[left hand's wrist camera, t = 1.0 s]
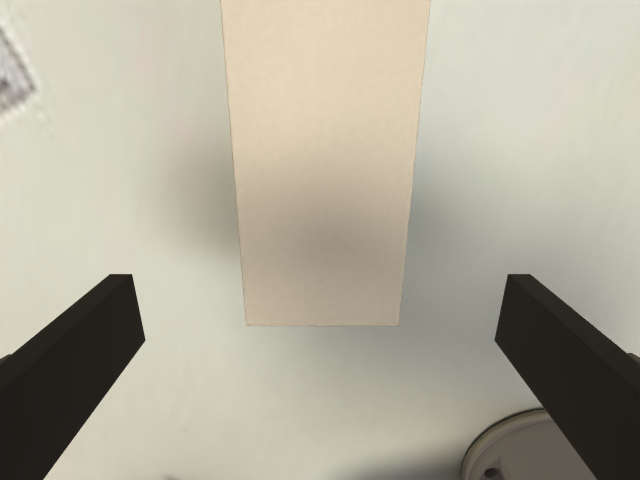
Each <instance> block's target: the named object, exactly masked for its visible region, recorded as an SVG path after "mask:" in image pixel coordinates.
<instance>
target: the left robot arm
mask: <svg viewBox="0 0 640 480" xmlns="http://www.w3.org/2000/svg"><path fill="white" fill-rule="evenodd" d="M144 342H145V336H144V331H143V326H142V321H141V316H140V311H139V306H138V301H137V296H136V291H135V287H134V282H133V277H132V274H110V275H109V276H107V277H106V278H105V279H104V280H102V281H101V282H100V283H99V284H98V285H96V286H95V287H94V288H93V289H91V290H90V291H89V292H88V293H86V294H85V295H84V296H83V297H82V298H80V299H79V300H78V301H77V302H75V303H74V304H73V305H72V306H71V307H69V308H68V309H67V310H66V311H64V312H63V313H62V314H61V315H60V316H58V317H57V318H56V319H55V320H53V321H52V322H51V323H50V324H49V325H47V326H46V327H45V328H44V329H42V330H41V331H40V332H39V333H37V334H36V335H35V336H34V337H33V338H31V339H30V340H29V341H28V342H26V343H25V344H24V345H23V346H22V347H20V348H19V349H18V350H17V351H15V352H14V353H13V354H9V355H7V356H5V357H3V358H1V359H0V480H43V479H44V478H45V476H46V475H47V474H48V472H49V471H50V470H51V468H52V467H53V466H54V464H55V463H56V461H57V460H58V459H59V457H60V456H61V455H62V453H63V452H64V451H65V449H66V448H67V446H68V445H69V444H70V442H71V441H72V440H73V438H74V437H75V436H76V434H77V433H78V432H79V430H80V429H81V427H82V426H83V425H84V423H85V422H86V421H87V419H88V418H89V417H90V415H91V414H92V412H93V411H94V410H95V408H96V407H97V406H98V404H99V403H100V402H101V400H102V399H103V397H104V396H105V395H106V393H107V392H108V391H109V389H110V388H111V387H112V385H113V384H114V383H115V381H116V380H117V378H118V377H119V376H120V374H121V373H122V372H123V370H124V369H125V368H126V366H127V365H128V363H129V362H130V361H131V359H132V358H133V357H134V355H135V354H136V353H137V351H138V350H139V348H140V347H141V346H142V344H143V343H144ZM495 342H496V343H497V344H498V346H499V347H500V348H501V350H502V351H503V353H504V354H505V355H506V357H507V358H508V359H509V361H510V362H511V363H512V365H513V366H514V368H515V369H516V370H517V372H518V373H519V374H520V376H521V377H522V378H523V380H524V381H525V383H526V384H527V385H528V387H529V388H530V389H531V391H532V392H533V393H534V395H535V396H536V397H537V399H538V400H539V402H540V403H541V404H542V406H543V407H544V408H545V409H543V410H536V411H531V412H527V413H523V414H520V415H517V416H514V417H511V418H509V419H507V420H505V421H503V422H501V423H499V424H497V425H495V426H494V427H492V428H491V429H489V430H488V431H487V432H485V433H484V434H483V435H482V436H481V437H480V438H479V439H478V440H477V441H476V442H475V443H474V444H473V445H472V447H471V448H470V450H469V451H468V453H467V455H466V457H465V459H464V462H463V466H462V480H640V357H638V356H636V355H634V354H632V353H626V352H625V351H623V350H622V349H621V348H620V347H618V346H617V345H616V344H615V343H614V342H612V341H611V340H610V339H609V338H607V337H606V336H605V335H604V334H603V333H601V332H600V331H599V330H598V329H596V328H595V327H594V326H593V325H591V324H590V323H589V322H588V321H587V320H585V319H584V318H583V317H582V316H580V315H579V314H578V313H577V312H576V311H574V310H573V309H572V308H571V307H569V306H568V305H567V304H566V303H565V302H563V301H562V300H561V299H560V298H558V297H557V296H556V295H555V294H554V293H552V292H551V291H550V290H549V289H547V288H546V287H545V286H544V285H542V284H541V283H540V282H539V281H538V280H536V279H535V278H534V277H533V276H531V275H530V274H508V277H507V282H506V287H505V291H504V296H503V301H502V306H501V311H500V316H499V321H498V326H497V331H496V336H495Z"/></svg>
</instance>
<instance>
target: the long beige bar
mask: <svg viewBox="0 0 640 480" xmlns="http://www.w3.org/2000/svg"><path fill="white" fill-rule="evenodd" d="M430 1H431V0H220V5H221V17H222V30H223V42H224V55H225V67H226V80H227V92H228V105H229V117H230V130H231V142H232V155H233V167H234V180H235V192H236V205H237V217H238V230H239V242H240V255H241V267H242V280H243V292H244V305H245V317H246V325H260V326H398V325H399V316H400V306H401V296H402V286H403V276H404V265H405V255H406V245H407V235H408V225H409V215H410V205H411V194H412V184H413V174H414V164H415V154H416V144H417V133H418V123H419V113H420V103H421V93H422V83H423V72H424V62H425V52H426V42H427V32H428V22H429V12H430Z"/></svg>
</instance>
